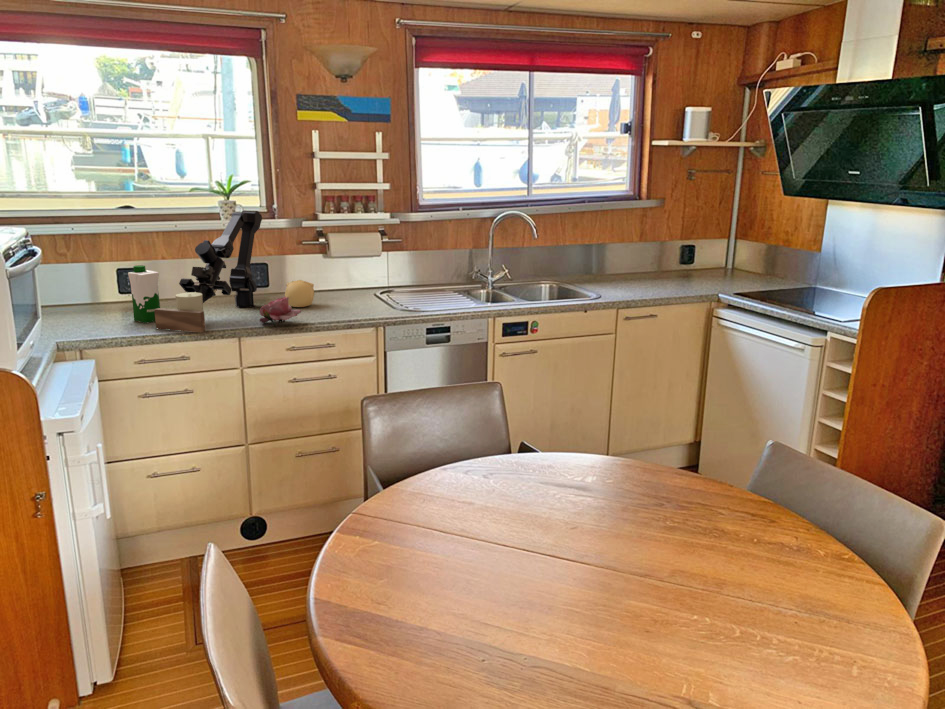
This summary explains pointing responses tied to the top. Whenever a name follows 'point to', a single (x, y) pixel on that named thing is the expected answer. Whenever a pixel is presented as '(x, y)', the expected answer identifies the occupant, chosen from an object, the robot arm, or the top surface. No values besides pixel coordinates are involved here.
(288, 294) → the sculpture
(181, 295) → the can
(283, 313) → the flower
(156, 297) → the milk carton
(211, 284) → the robot arm
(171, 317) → the brown box
